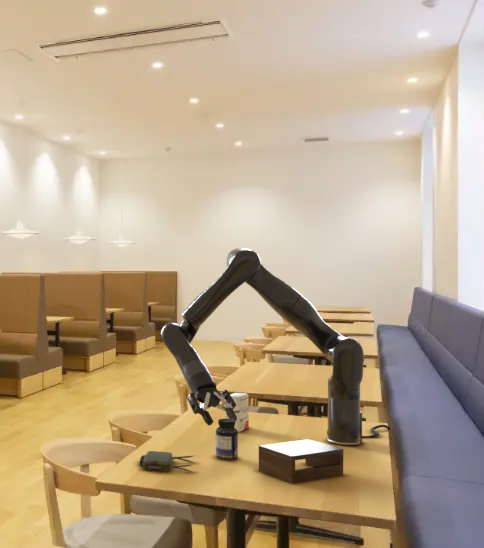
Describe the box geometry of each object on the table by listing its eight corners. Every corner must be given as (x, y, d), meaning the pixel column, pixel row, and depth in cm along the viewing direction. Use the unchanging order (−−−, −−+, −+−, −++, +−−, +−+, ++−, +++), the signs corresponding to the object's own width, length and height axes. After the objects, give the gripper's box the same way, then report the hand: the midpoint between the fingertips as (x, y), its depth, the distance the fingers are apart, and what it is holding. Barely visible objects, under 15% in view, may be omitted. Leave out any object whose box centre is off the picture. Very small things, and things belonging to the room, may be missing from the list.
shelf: (308, 463, 204) (308, 439, 204) (343, 475, 193) (343, 449, 193) (258, 471, 197) (258, 445, 197) (291, 483, 186) (291, 456, 186)
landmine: (143, 448, 211) (196, 451, 207) (143, 457, 211) (196, 461, 207) (137, 460, 198) (194, 465, 194) (137, 470, 198) (194, 474, 194)
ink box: (235, 425, 252) (235, 391, 252) (249, 427, 249) (249, 393, 249) (225, 430, 245) (225, 395, 245) (239, 432, 242) (239, 396, 242)
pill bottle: (228, 454, 214) (228, 417, 214) (242, 459, 209) (242, 421, 209) (211, 456, 212) (211, 419, 212) (225, 461, 206) (225, 423, 206)
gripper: (184, 371, 217) (209, 417, 206) (222, 369, 222) (248, 413, 212) (173, 386, 222) (197, 432, 211) (211, 383, 227) (236, 427, 217)
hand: (223, 422), depth 212 cm, fingers open, 8 cm apart
